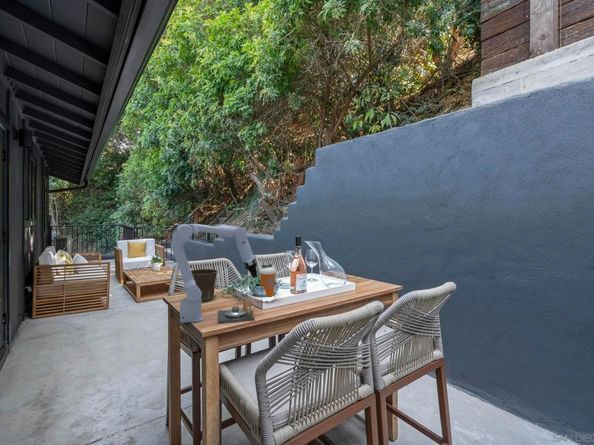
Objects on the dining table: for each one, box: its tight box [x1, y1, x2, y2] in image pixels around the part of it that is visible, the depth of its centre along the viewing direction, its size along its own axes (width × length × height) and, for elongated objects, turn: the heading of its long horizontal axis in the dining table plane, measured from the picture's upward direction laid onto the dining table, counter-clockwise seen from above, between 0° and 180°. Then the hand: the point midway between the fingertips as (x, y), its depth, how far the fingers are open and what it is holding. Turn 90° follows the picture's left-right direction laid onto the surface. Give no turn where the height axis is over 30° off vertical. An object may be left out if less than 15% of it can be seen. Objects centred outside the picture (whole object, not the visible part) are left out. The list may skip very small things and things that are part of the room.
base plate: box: [217, 309, 256, 325], centre depth 152 cm, size 16×16×1 cm
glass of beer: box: [259, 263, 277, 297], centre depth 179 cm, size 9×9×20 cm
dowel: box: [247, 307, 250, 317], centre depth 149 cm, size 2×2×4 cm
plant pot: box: [191, 268, 218, 303], centre depth 182 cm, size 16×16×16 cm
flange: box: [225, 299, 252, 317], centre depth 153 cm, size 14×10×4 cm
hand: (254, 275), depth 161 cm, fingers open, 7 cm apart
